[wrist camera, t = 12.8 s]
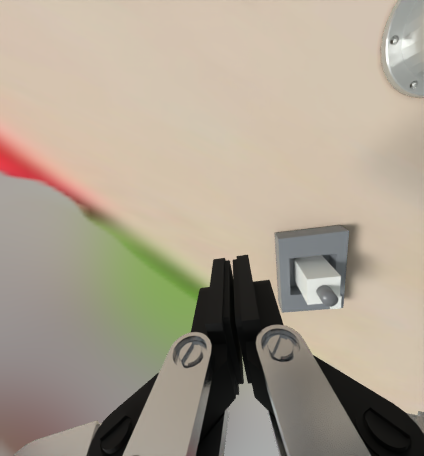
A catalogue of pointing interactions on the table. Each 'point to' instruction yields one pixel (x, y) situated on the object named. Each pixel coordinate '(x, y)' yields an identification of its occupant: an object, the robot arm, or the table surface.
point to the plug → (317, 280)
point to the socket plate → (304, 247)
